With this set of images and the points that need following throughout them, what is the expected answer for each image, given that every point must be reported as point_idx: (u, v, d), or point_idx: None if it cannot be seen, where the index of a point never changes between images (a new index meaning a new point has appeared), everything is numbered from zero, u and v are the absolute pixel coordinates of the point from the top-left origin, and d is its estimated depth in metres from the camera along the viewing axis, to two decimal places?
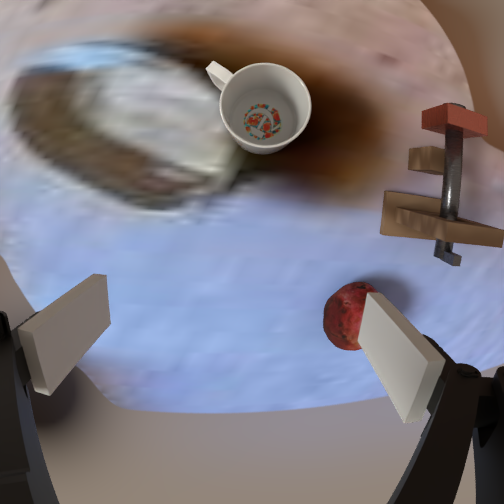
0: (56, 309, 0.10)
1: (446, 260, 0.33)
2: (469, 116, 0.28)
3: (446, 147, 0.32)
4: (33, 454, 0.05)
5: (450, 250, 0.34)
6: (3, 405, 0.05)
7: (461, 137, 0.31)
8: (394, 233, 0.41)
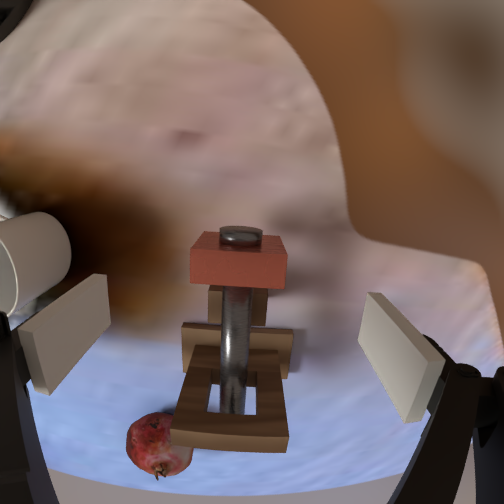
0: (56, 309, 0.10)
1: None
2: (240, 263, 0.21)
3: (222, 298, 0.25)
4: (33, 454, 0.05)
5: None
6: (3, 405, 0.05)
7: (243, 286, 0.24)
8: None
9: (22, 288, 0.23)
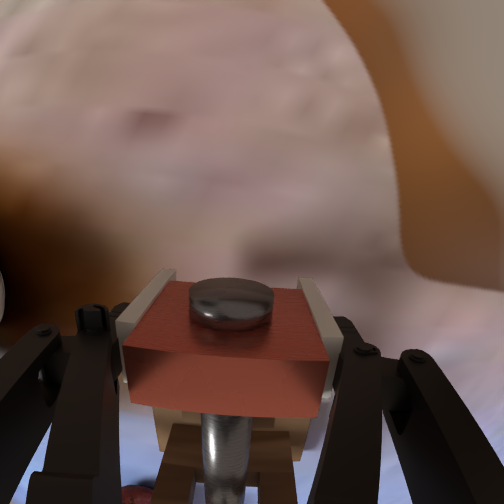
0: (146, 301, 0.12)
1: None
2: (227, 377, 0.09)
3: None
4: (108, 455, 0.06)
5: None
6: (87, 402, 0.06)
7: None
8: None
9: None
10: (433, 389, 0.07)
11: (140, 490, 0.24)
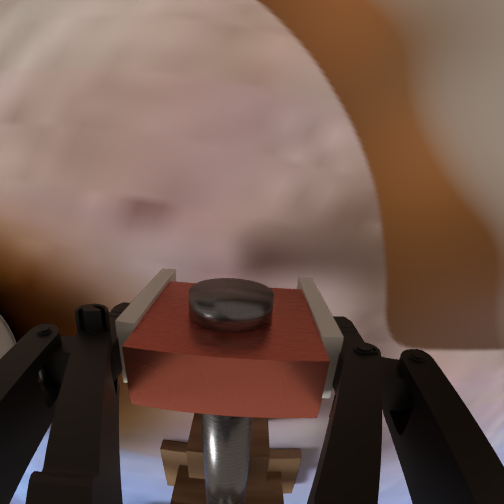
0: (146, 301, 0.12)
1: None
2: (227, 378, 0.09)
3: None
4: (107, 455, 0.06)
5: None
6: (86, 402, 0.06)
7: None
8: None
9: None
10: (433, 389, 0.07)
11: None
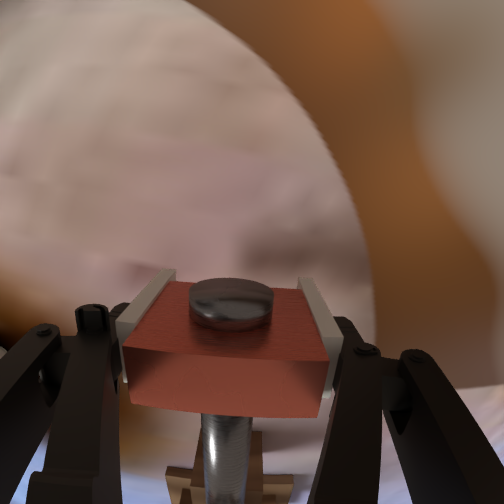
0: (146, 301, 0.12)
1: None
2: (227, 378, 0.09)
3: None
4: (108, 455, 0.06)
5: None
6: (87, 402, 0.06)
7: None
8: None
9: None
10: (433, 389, 0.07)
11: None
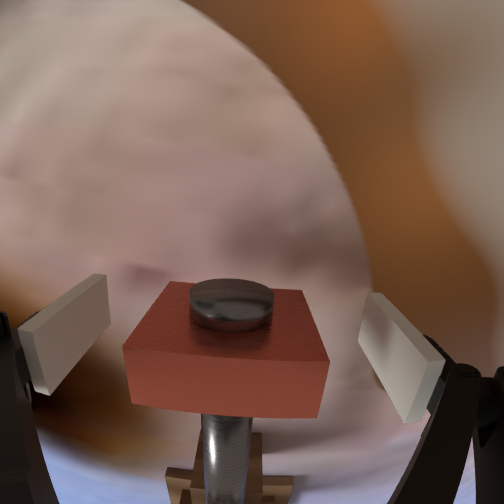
0: (56, 309, 0.10)
1: None
2: (228, 378, 0.09)
3: None
4: (33, 454, 0.05)
5: None
6: (3, 405, 0.05)
7: None
8: None
9: None
10: None
11: None
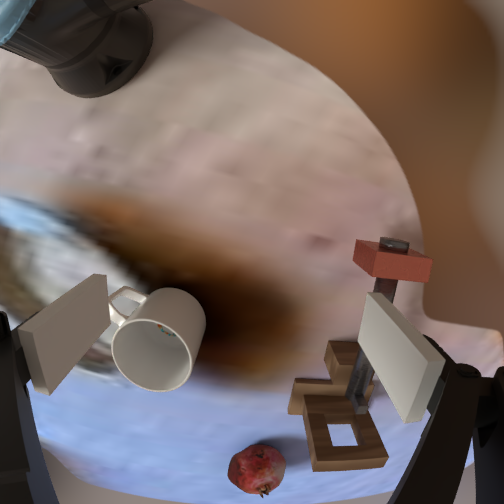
0: (56, 309, 0.10)
1: (353, 405, 0.33)
2: (406, 263, 0.28)
3: (374, 291, 0.32)
4: (33, 454, 0.05)
5: (361, 394, 0.33)
6: (3, 405, 0.05)
7: (394, 281, 0.31)
8: (300, 413, 0.43)
9: None
10: None
11: (263, 445, 0.44)
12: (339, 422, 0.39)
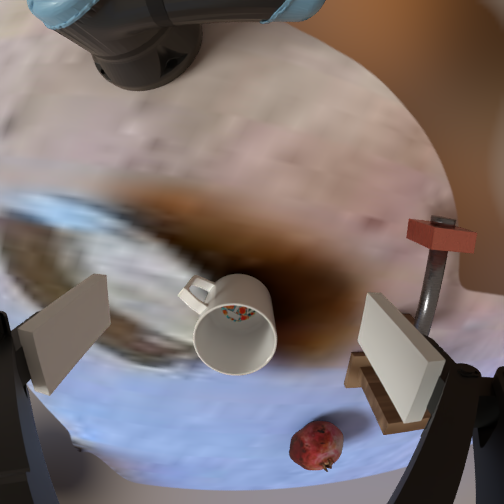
0: (56, 309, 0.10)
1: None
2: (457, 237, 0.30)
3: (428, 263, 0.34)
4: (33, 454, 0.05)
5: None
6: (3, 405, 0.05)
7: (445, 253, 0.33)
8: (356, 385, 0.46)
9: None
10: None
11: (322, 421, 0.47)
12: None
